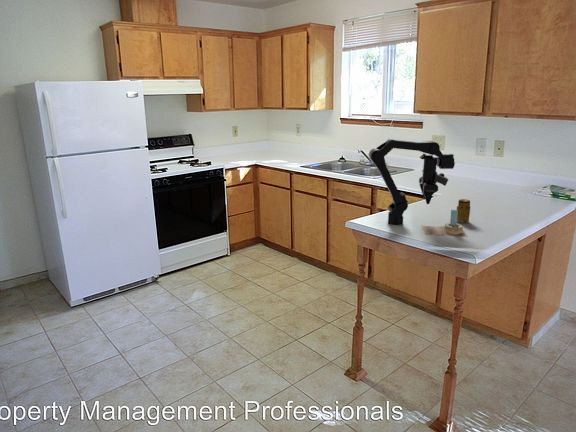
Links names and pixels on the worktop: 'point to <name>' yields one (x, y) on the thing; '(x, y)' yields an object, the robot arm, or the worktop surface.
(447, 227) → the bead
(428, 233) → the board
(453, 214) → the dowel
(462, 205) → the condiment
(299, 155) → the worktop surface
